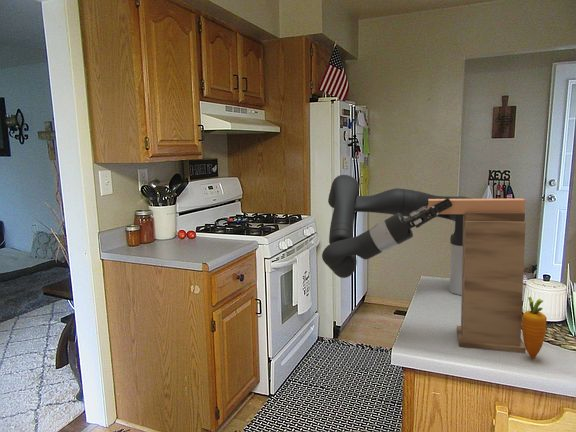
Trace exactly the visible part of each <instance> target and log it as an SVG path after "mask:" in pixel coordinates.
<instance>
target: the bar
mask: <svg viewBox="0 0 576 432" xmlns="http://www.w3.org/2000/svg"><path fill="white" fill-rule="evenodd" d="M443 200H445V199H429V200H428V208H430V207H431V206H432V205H436V204H438V203H440V202H441V201H443ZM450 201H451V203H452V206H451V207H449V208H448V209H446V210H444V211H442V212H440V213H439V214H465V212H504V213H525V212H526V199H525V198H522V197H521V198H473V199H450ZM435 207H436V206H435ZM428 213H429V212H428ZM429 214H430V213H429ZM525 214H526V213H525Z"/></svg>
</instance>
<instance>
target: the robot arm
mask: <svg viewBox="0 0 576 432" xmlns="http://www.w3.org/2000/svg"><path fill="white" fill-rule="evenodd" d="M358 182H359V181H358V180H357V179H356V178H355V177H353V176H351V175H348V174H340V175H337V176H336V177H335V178H334V179H333V181H332V183H331V186H330V190H329V194H328V198H327V199H328V200H327V201H328V203H327V204H328V205H329V206H330V207H331V209H333V211H332V215H331V216H332V217H331V219H330V220H331V221H330V227H329V234H328V235H329V236H328V243H329V244H328V245H327V246H326V247H325V248H324V250H323V251H322V253H321V257H322V258H321V259H322V261H323V263H324V264H325V265H326V266H327V267H328V268H329V269H330V270H331V271H332V272H333V274H335V275H336V276H337V277H338V278H341V279H345V278H346V279H347V278H349V277H351V276H352V275H353V274H354V272H355V270H356V268H357V265H358V264H357V263H358V261H357V257H359V258H361V259H363V260H365V261H367V260H370V259H372V258H373V257H376V256H377V255H379V254H381V253H383V252H385V251H389V250H391V249H393V248H395V247H397V246H399V245H400V244H402V243H405V242H406V241H408V240H410V239H412V238H413V237H414V234H413V230H412V228H416V229H419V228H420V227H422V226H423V225H425V224H427V223H428V222H430V221H431V220H433V219H435V218H441V219H446V220H450V221H453V222H454V223H455V224H454V232H453V233H452V234H451V235H450V239H449V240H450V241H449V242H450V244H449V245H450V246H449V248H450V249H449V292H451V293H452V294H454V295H458V296H462V251H463V216H464V214H439V213H440V212H442V211H444V210H446V209H448V208H449V207H451V206H452V203H451V201H450V199H474V198H473V197H467V196H463V195H462V196H460V195H459V196H450V195H449V196H446V195H445V196H443V195H435V194H431V193H428V192H427V193H426V192H423V191H419V190H414V189H406V188H396V187H395V188H391V189H388V190H384V191H381V192H379V193H376V194H372V195H359V189H360V186H359V185H360V184H359V183H358ZM429 199H445V200H443V201H441V202H440V203H438V204H436V205H432V206H431V207H430V208H428V200H429ZM435 206H436V207H435ZM355 212H356V213H357V212H358V213H359V212H360V213H377V214H387V215H391V216H389V217H388V218H387V217H386V218H385V219H384V220H382V221H381V222H378V223H376V224H375V225H374V226H373V227H371V228H370V229H368V230H366V231H364V232H362V233H361V234H358V235H357V236H354V213H355ZM428 212H429V213H430V214H429V213H428Z"/></svg>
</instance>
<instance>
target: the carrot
mask: <svg viewBox="0 0 576 432" xmlns="http://www.w3.org/2000/svg"><path fill="white" fill-rule="evenodd" d="M527 300H528V301H529V307H530V310H526V311H525V312H524V313H523V314H522V319H521V334H522V339H523V340H522V341H523V344H524V346H525V348H526V352H527V355H528V356H529V357H530V358H531V359H535V358H536V357H537V356H538V354H539V353H540V352H541V349H542V347H543V344H544V341H545V337H546V330H547V329H546V328H547V316H546V315H545V314H544V313H542V312H541V311H542V310H543V307H539V306H540V305H541V304H542V303H544V300H542V299H541V298H538V299H537V300H536V301H535V304H534V300H533V299H532V297H531V296H528V298H527Z"/></svg>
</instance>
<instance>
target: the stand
mask: <svg viewBox="0 0 576 432" xmlns="http://www.w3.org/2000/svg"><path fill="white" fill-rule="evenodd" d="M525 243H526V213H504V212H465V214H464V216H463V251H462V295H461V303H460V305H461V306H460V308H461V310H460V311H461V312H460V325H456V334H457V340H458V341H457V342H458V347H460V348H468V349H479V350H489V351H500V352H509V353H519V354H520V353H521V354H526V352H527V350H526V347H525V344H524V341H523V340H522V316H523V314H522V313H523V295H524V294H523V290H524V267H525V265H524V264H525Z"/></svg>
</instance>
